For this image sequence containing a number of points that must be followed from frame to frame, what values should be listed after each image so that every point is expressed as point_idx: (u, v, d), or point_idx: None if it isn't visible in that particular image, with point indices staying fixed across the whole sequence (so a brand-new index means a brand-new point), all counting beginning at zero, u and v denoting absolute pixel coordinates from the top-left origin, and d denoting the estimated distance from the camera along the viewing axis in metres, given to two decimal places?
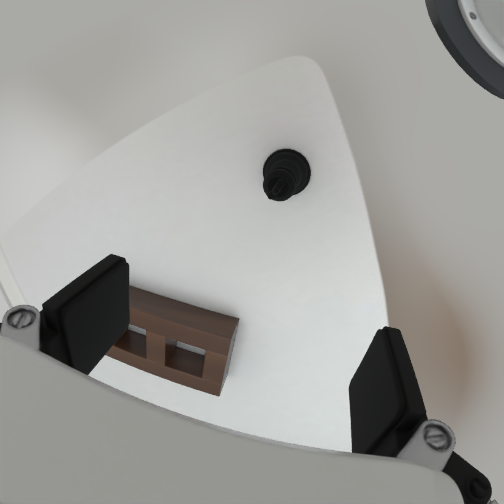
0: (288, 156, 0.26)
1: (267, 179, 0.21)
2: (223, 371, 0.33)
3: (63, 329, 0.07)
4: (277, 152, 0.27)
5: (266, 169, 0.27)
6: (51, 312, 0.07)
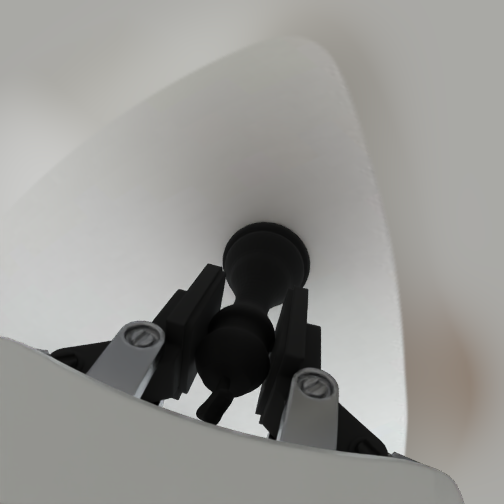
0: (266, 245, 0.14)
1: (201, 359, 0.08)
2: None
3: (186, 343, 0.08)
4: (247, 230, 0.15)
5: (226, 265, 0.15)
6: (177, 327, 0.08)
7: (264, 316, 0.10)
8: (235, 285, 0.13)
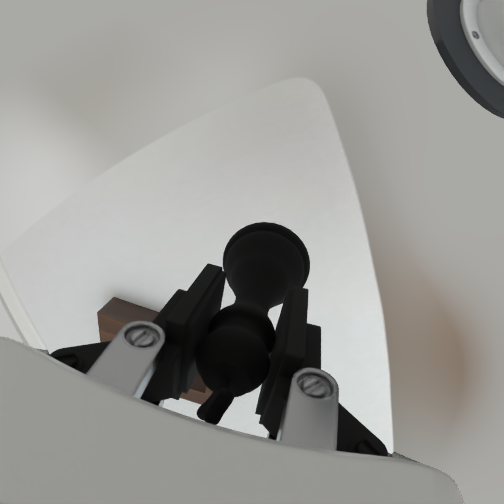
0: (266, 245, 0.14)
1: (201, 359, 0.08)
2: None
3: (186, 343, 0.08)
4: (247, 230, 0.15)
5: (226, 265, 0.15)
6: (177, 327, 0.08)
7: (264, 316, 0.10)
8: (235, 285, 0.13)
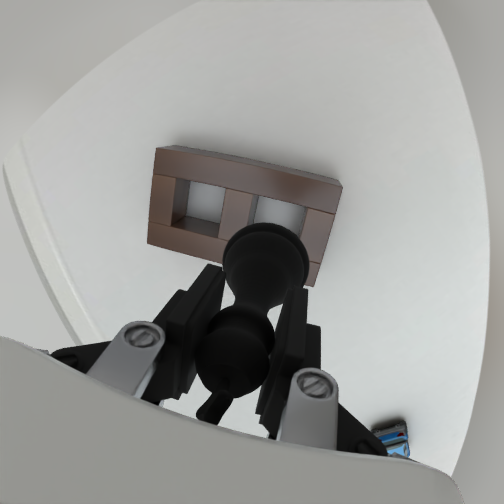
0: (265, 245, 0.14)
1: (200, 361, 0.08)
2: (326, 241, 0.27)
3: (186, 343, 0.08)
4: (247, 230, 0.15)
5: (225, 265, 0.15)
6: (177, 327, 0.08)
7: (264, 317, 0.10)
8: (235, 286, 0.13)
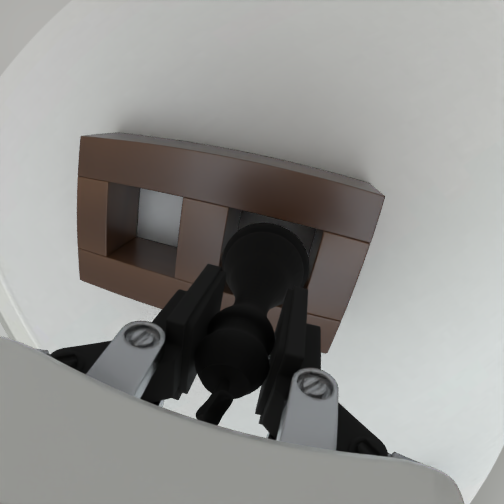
0: (265, 246, 0.14)
1: (200, 361, 0.08)
2: (352, 286, 0.16)
3: (186, 343, 0.08)
4: (246, 231, 0.15)
5: (225, 265, 0.15)
6: (178, 327, 0.08)
7: (264, 317, 0.10)
8: (234, 286, 0.13)
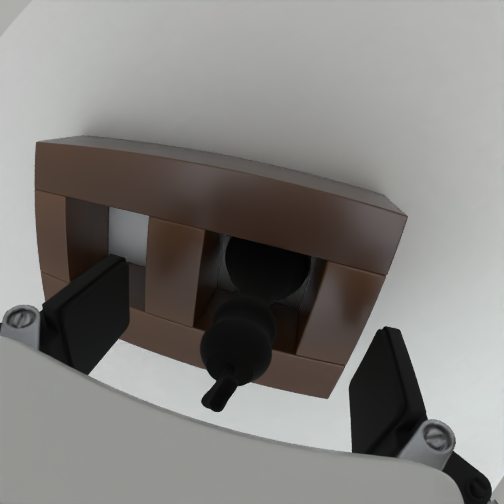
0: None
1: (206, 349, 0.09)
2: (362, 327, 0.12)
3: (63, 329, 0.07)
4: None
5: (228, 261, 0.15)
6: (51, 312, 0.07)
7: (266, 308, 0.10)
8: (238, 280, 0.13)
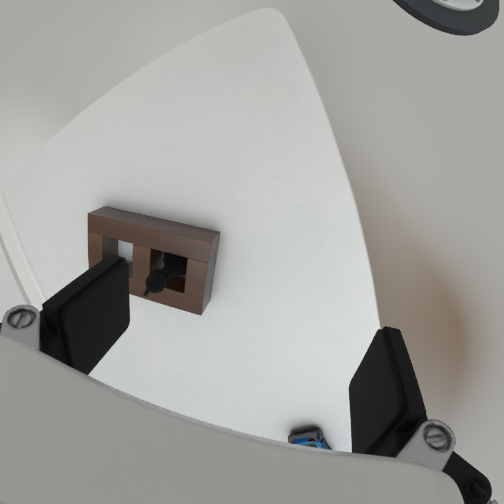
0: None
1: (146, 281, 0.33)
2: (204, 282, 0.36)
3: (63, 329, 0.07)
4: None
5: (163, 259, 0.39)
6: (51, 312, 0.07)
7: (165, 271, 0.34)
8: None
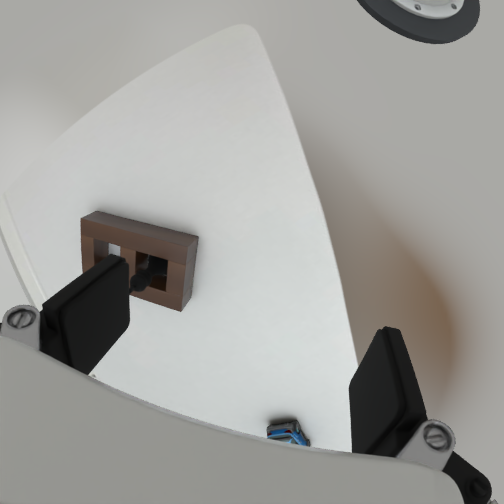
0: None
1: (130, 281, 0.36)
2: (183, 282, 0.39)
3: (63, 329, 0.07)
4: None
5: (148, 260, 0.42)
6: (51, 312, 0.07)
7: (147, 272, 0.37)
8: None
